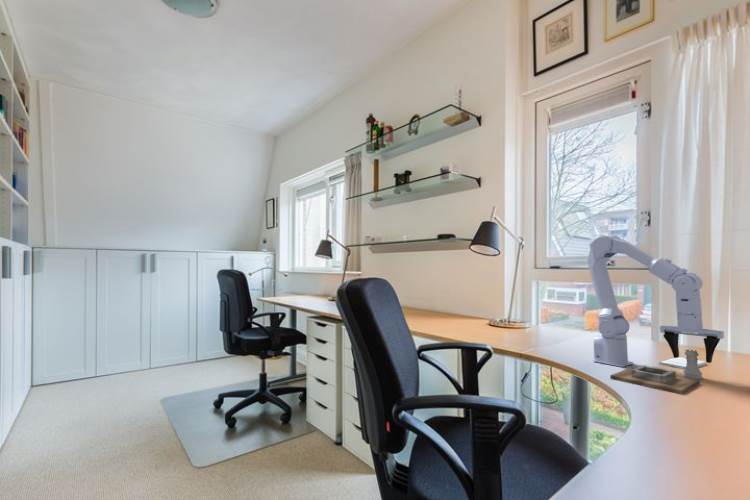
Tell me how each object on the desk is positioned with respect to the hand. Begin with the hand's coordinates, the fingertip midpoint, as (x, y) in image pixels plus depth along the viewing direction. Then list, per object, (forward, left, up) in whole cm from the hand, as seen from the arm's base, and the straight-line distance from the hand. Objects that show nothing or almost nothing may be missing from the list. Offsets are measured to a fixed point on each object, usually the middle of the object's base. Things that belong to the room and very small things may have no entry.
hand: (692, 359), depth 109 cm
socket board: (-6, -12, -5) cm, 15 cm away
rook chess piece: (0, 0, -6) cm, 6 cm away
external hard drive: (-7, +15, -6) cm, 18 cm away
